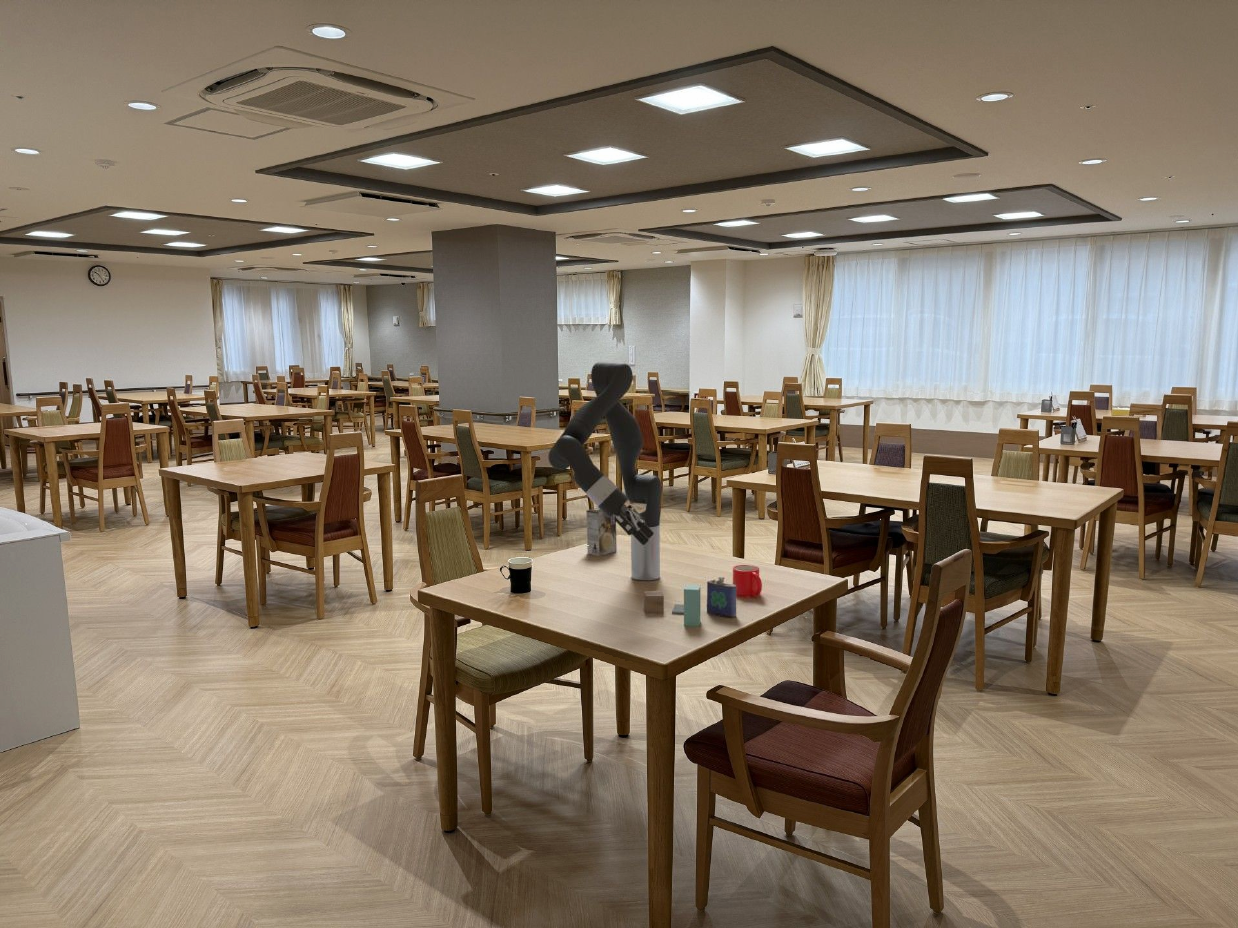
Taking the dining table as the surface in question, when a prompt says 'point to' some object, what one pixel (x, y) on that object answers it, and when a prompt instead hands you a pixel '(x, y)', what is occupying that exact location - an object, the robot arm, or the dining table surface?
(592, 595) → the dining table surface
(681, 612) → the slate coaster
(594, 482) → the robot arm
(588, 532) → the coffee box
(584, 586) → the dining table surface
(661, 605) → the walnut block
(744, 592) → the mug
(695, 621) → the teal post
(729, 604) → the flask
